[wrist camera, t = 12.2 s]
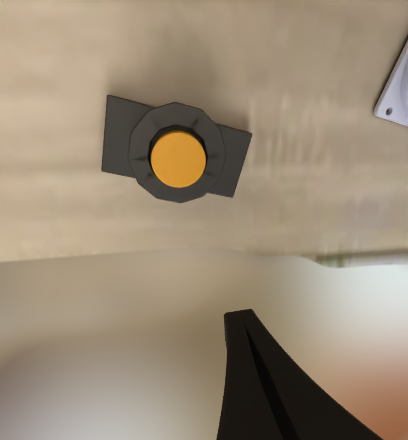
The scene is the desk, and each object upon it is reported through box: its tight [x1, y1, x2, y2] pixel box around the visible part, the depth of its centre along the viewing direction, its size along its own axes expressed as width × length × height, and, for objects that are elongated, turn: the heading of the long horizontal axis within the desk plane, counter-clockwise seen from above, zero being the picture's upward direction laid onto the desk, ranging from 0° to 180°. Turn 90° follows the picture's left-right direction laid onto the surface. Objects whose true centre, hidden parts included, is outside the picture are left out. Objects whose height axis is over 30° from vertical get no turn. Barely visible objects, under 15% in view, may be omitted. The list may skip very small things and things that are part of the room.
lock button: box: [151, 130, 206, 188], centre depth 14 cm, size 3×3×2 cm
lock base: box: [102, 95, 252, 203], centre depth 16 cm, size 10×6×3 cm, turn 76°
